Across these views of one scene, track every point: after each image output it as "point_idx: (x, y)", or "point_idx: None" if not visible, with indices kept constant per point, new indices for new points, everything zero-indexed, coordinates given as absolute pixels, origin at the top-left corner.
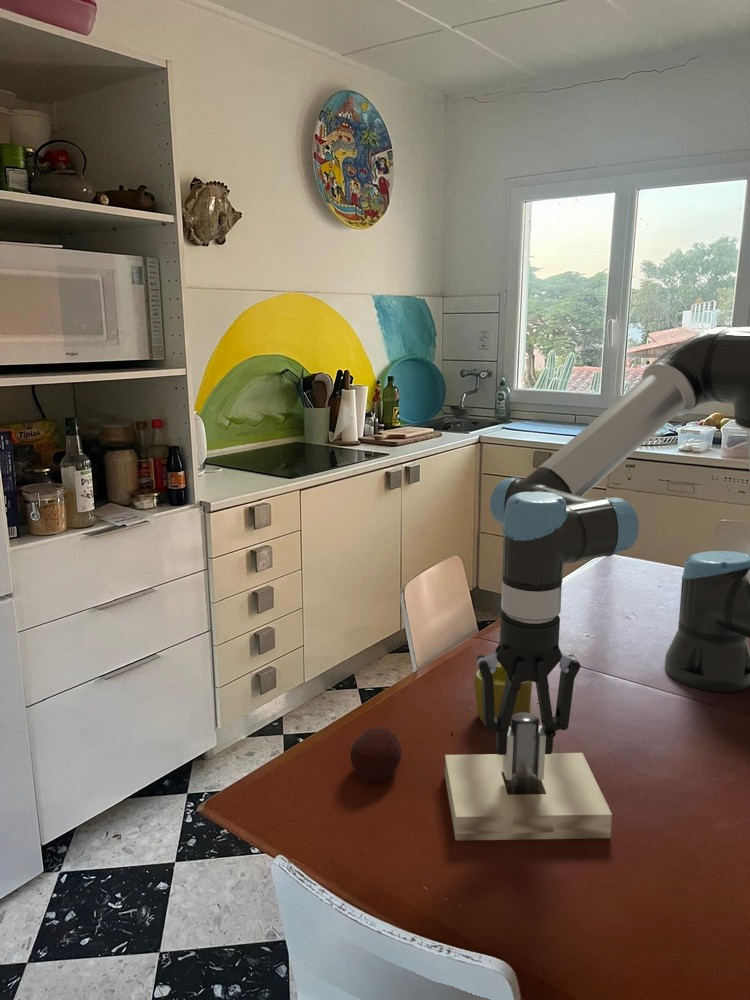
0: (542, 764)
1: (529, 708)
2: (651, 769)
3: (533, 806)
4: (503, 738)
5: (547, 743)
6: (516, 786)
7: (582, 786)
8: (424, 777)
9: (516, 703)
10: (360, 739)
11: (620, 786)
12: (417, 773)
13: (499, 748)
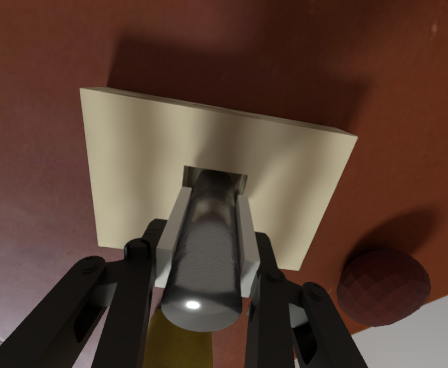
0: (179, 202)
1: (149, 329)
2: (16, 217)
3: (217, 138)
4: (264, 261)
5: (156, 236)
6: (228, 188)
7: (117, 173)
8: (313, 248)
9: (166, 340)
10: (417, 309)
11: (66, 193)
12: (318, 255)
13: (267, 243)
